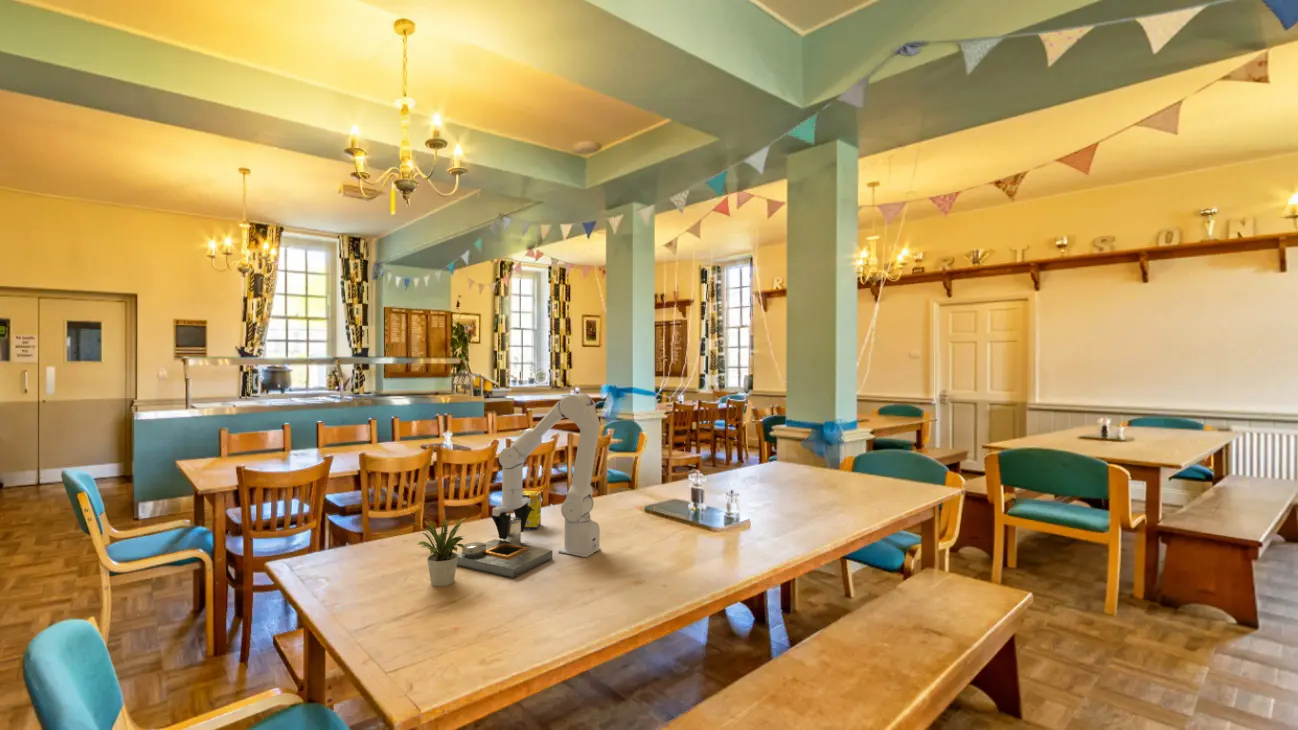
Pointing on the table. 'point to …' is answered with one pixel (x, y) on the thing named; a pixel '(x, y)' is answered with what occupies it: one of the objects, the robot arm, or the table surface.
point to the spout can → (514, 530)
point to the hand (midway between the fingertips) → (511, 534)
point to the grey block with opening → (502, 557)
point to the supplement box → (533, 509)
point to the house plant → (442, 553)
